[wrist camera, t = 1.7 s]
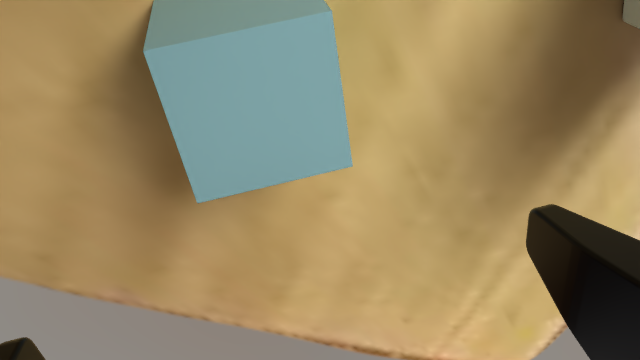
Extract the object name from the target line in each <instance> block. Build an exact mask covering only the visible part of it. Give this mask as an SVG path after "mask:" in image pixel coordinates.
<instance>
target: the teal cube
mask: <svg viewBox="0 0 640 360" xmlns="http://www.w3.org/2000/svg"><path fill="white" fill-rule="evenodd" d="M143 53H144V55H145V58H146V61H147V64H148V67H149V69H150V72H151V75H152V78H153V81H154V83H155V86H156V89H157V92H158V95H159V97H160V100H161V103H162V106H163V109H164V111H165V114H166V117H167V120H168V123H169V125H170V128H171V131H172V134H173V137H174V139H175V142H176V145H177V148H178V151H179V153H180V156H181V159H182V162H183V165H184V167H185V170H186V173H187V176H188V179H189V181H190V184H191V187H192V190H193V193H194V195H195V198H196V201H197V203H201V202H206V201H210V200H214V199H218V198H222V197H226V196H231V195H235V194H239V193H243V192H247V191H252V190H256V189H260V188H264V187H268V186H272V185H277V184H281V183H285V182H289V181H293V180H297V179H302V178H306V177H310V176H314V175H318V174H322V173H327V172H331V171H335V170H339V169H343V168H348V167H352V166H353V165H352V158H351V150H350V143H349V135H348V128H347V120H346V113H345V106H344V98H343V91H342V83H341V76H340V68H339V61H338V54H337V46H336V39H335V31H334V24H333V16H332V10H331V9H330V8H329V6H328V5H327V4H326V3H325V1H324V0H154V2H153V7H152V11H151V16H150V21H149V25H148V30H147V35H146V39H145V44H144V49H143Z"/></svg>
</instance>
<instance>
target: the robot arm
mask: <svg viewBox="0 0 640 360" xmlns="http://www.w3.org/2000/svg"><path fill="white" fill-rule="evenodd" d="M526 247H527V251H528V254H529V256H530V258H531V260H532V261H533V263H534V265H535V267H536V269H537V271H538V273H539V275H540V276H541V278H542V280H543V282H544V284H545V286H546V288H547V289H548V291H549V293H550V295H551V297H552V299H553V301H554V303H555V304H556V306H557V308H558V310H559V312H560V314H561V315H562V317H563V319H564V321H565V322H566V324H567V326H568V327H569V329H570V330H571V332H572V333H573V335H574V336H575V338H576V339H577V341H578V342H579V344H580V345H581V346H582V348H583V349H584V351H585V352H586V354H587V355H588V357H589V358H590V360H640V240H637V239H635V238H633V237H630V236H628V235H626V234H623V233H621V232H618V231H616V230H614V229H611V228H609V227H607V226H604V225H602V224H600V223H597V222H595V221H593V220H590V219H588V218H585V217H583V216H581V215H578V214H576V213H574V212H571V211H569V210H567V209H564V208H562V207H559V206H557V205H553V204H551V205H546V206H542V207H538V208H534V209H532V210H531V211H530V213H529V218H528V228H527V237H526ZM0 360H45V358H44V357H43V356H42V354H41V353H40V351H39V350H38V348H37V347H36V346H35V344H34V343H33V342H32V340H30V339H29V338H27V337H25V338H19V339H15V340H11V341H7V342H4V343H2V344H0Z"/></svg>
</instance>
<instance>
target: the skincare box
mask: <svg viewBox="0 0 640 360" xmlns="http://www.w3.org/2000/svg"><path fill="white" fill-rule="evenodd" d="M623 21H624V22H626V23H628V24H630V25H632V26H634V27H636V28H638V29H640V0H624V8H623Z"/></svg>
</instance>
